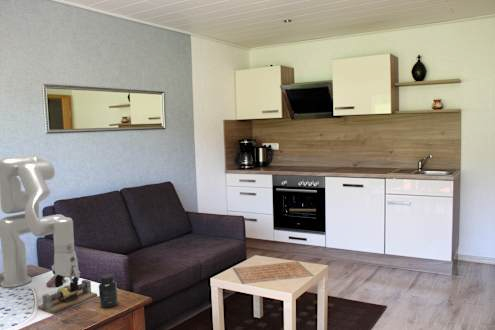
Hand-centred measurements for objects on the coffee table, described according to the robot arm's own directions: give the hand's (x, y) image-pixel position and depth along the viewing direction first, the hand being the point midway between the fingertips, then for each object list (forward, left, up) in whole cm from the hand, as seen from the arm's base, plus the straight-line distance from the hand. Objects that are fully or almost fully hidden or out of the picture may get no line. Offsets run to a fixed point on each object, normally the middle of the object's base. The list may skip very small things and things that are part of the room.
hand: (66, 288), depth 179 cm
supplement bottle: (+17, +6, -6) cm, 19 cm away
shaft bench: (0, 0, -6) cm, 6 cm away
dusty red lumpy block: (-23, +11, -6) cm, 27 cm away
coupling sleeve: (0, 0, -4) cm, 4 cm away
